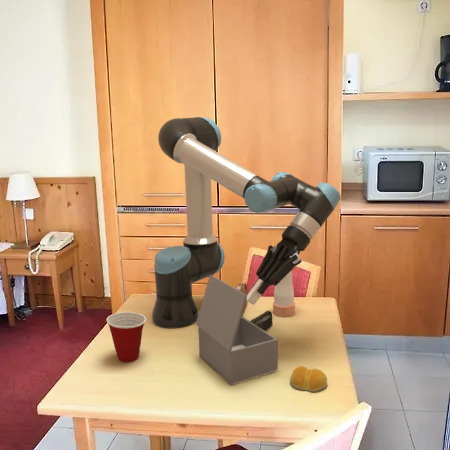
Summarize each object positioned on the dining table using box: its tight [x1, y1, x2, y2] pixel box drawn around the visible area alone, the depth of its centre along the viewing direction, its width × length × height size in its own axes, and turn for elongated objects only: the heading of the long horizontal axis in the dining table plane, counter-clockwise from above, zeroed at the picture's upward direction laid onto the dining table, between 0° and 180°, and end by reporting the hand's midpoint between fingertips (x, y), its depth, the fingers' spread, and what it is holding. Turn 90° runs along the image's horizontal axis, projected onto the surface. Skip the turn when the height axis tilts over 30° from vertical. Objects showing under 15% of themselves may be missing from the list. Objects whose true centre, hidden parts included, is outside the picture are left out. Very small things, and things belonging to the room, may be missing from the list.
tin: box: [235, 282, 249, 316], centre depth 175 cm, size 15×3×8 cm, turn 168°
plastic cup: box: [106, 311, 147, 363], centre depth 143 cm, size 11×11×12 cm
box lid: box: [195, 275, 248, 351], centre depth 134 cm, size 19×14×1 cm
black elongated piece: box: [249, 310, 273, 331], centre depth 158 cm, size 5×3×15 cm
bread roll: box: [289, 365, 328, 393], centre depth 129 cm, size 8×9×4 cm
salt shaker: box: [272, 266, 296, 318], centre depth 171 cm, size 7×7×19 cm
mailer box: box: [197, 315, 279, 387], centre depth 139 cm, size 18×14×9 cm
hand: (249, 301), depth 138 cm, fingers closed
